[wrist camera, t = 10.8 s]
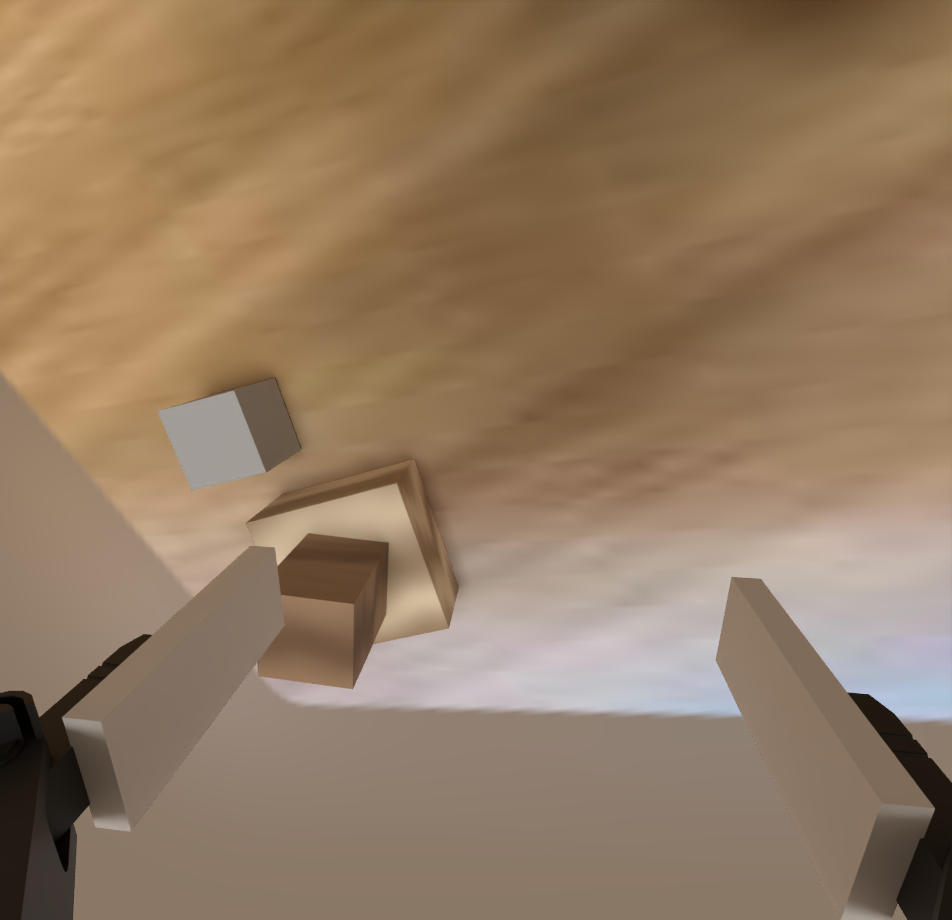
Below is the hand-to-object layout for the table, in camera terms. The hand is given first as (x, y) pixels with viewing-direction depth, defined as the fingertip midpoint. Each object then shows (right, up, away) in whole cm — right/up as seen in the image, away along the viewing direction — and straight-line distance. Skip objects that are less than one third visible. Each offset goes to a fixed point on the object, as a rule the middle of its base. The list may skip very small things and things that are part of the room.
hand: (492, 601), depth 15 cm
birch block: (-9, -3, +29) cm, 31 cm away
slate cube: (-18, +7, +27) cm, 34 cm away
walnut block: (-10, -4, +24) cm, 26 cm away
